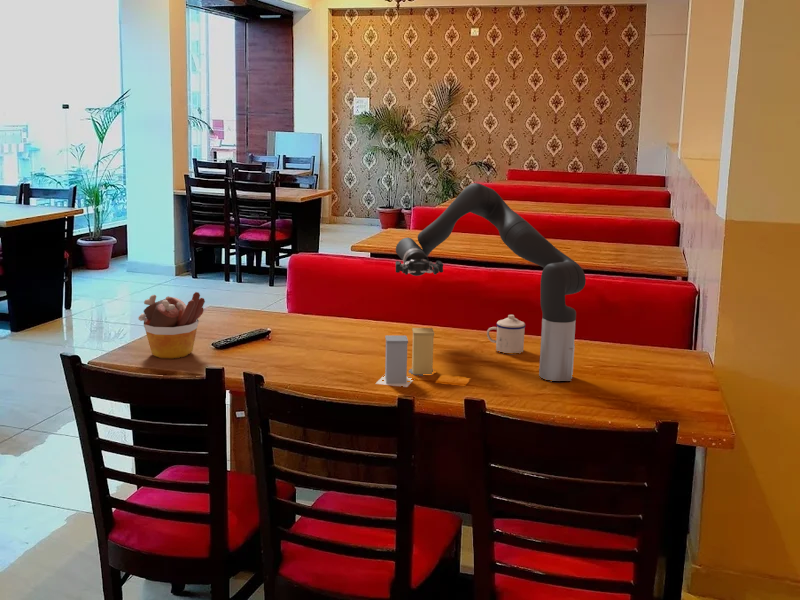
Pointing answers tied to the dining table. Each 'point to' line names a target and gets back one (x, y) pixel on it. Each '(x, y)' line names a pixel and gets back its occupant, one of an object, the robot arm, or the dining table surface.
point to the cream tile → (394, 384)
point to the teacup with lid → (509, 335)
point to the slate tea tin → (396, 359)
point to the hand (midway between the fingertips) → (421, 271)
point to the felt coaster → (414, 374)
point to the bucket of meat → (172, 325)
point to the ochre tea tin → (422, 350)
